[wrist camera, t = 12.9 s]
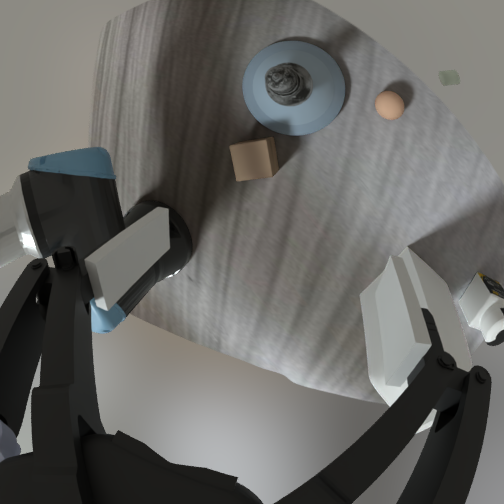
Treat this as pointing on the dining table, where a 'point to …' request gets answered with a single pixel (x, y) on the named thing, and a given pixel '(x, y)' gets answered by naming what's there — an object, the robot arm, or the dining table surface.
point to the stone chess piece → (288, 84)
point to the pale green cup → (449, 77)
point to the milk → (430, 297)
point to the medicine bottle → (485, 308)
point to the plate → (309, 112)
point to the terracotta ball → (389, 105)
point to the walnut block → (254, 159)
